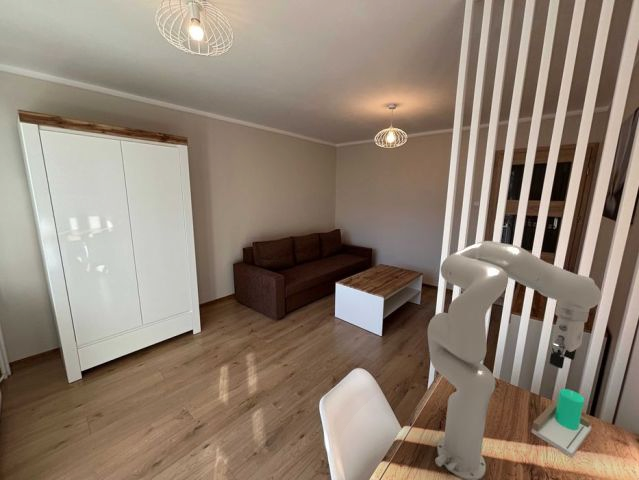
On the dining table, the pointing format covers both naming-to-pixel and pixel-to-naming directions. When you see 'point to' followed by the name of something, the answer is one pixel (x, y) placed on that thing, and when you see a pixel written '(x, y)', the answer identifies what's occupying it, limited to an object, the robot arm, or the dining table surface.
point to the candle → (569, 409)
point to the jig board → (560, 431)
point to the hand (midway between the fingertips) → (561, 361)
